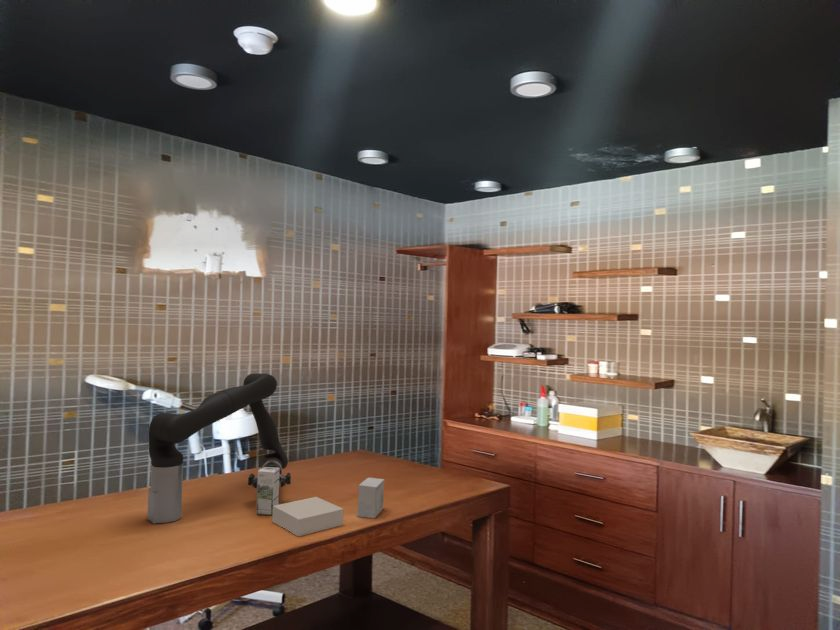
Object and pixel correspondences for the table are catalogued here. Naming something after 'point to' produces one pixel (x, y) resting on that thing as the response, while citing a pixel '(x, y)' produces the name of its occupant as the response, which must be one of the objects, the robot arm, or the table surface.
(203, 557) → the table surface
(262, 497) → the syrup box
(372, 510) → the skincare box
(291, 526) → the plinth
